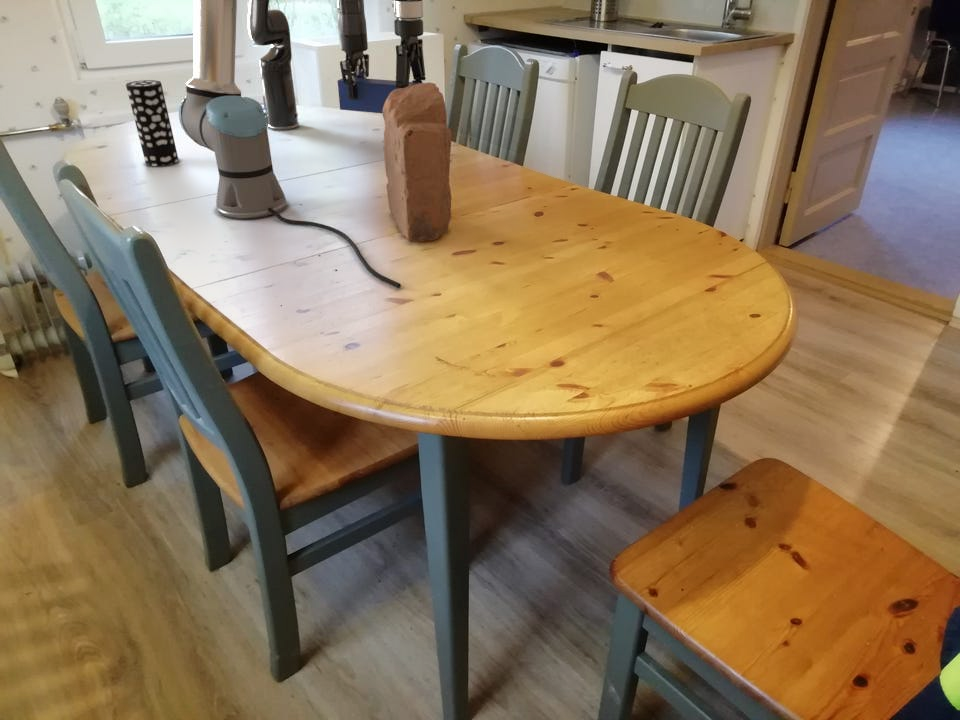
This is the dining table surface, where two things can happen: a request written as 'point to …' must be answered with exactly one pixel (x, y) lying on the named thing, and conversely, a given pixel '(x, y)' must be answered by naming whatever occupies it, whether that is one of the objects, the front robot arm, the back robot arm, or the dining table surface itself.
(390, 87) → the bar
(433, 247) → the dining table surface
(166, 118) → the black spotted cylinder
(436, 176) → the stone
